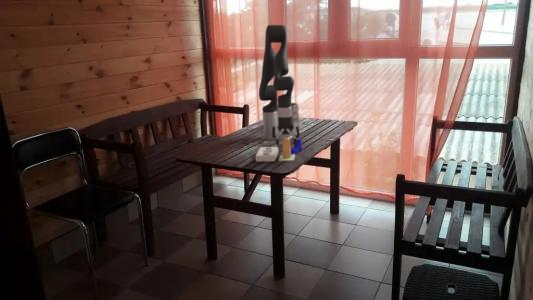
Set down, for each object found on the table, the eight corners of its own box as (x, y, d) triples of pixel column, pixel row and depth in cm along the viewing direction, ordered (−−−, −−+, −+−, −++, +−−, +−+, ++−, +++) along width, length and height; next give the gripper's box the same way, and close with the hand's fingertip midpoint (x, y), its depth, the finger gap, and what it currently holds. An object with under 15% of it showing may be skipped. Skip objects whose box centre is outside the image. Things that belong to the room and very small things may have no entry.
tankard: (300, 121, 317) (299, 100, 312) (299, 125, 305) (298, 104, 300) (272, 122, 319) (271, 101, 315) (271, 126, 307) (269, 105, 303)
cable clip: (291, 154, 238) (290, 144, 236) (284, 153, 241) (284, 143, 239) (303, 150, 247) (303, 139, 245) (297, 149, 249) (297, 139, 248)
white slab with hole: (260, 152, 248) (260, 147, 247) (278, 152, 246) (278, 146, 245) (255, 161, 233) (255, 155, 232) (274, 161, 231) (274, 155, 230)
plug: (283, 156, 237) (282, 138, 234) (291, 155, 236) (290, 138, 233) (282, 158, 233) (281, 140, 230) (290, 158, 232) (289, 140, 229)
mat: (280, 155, 240) (280, 154, 240) (295, 155, 239) (295, 154, 239) (278, 161, 231) (278, 160, 231) (293, 161, 229) (293, 159, 229)
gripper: (299, 113, 231) (300, 143, 235) (272, 114, 233) (274, 143, 237) (298, 116, 223) (299, 147, 228) (270, 117, 226) (272, 147, 230)
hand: (286, 145), depth 233 cm, fingers open, 8 cm apart
